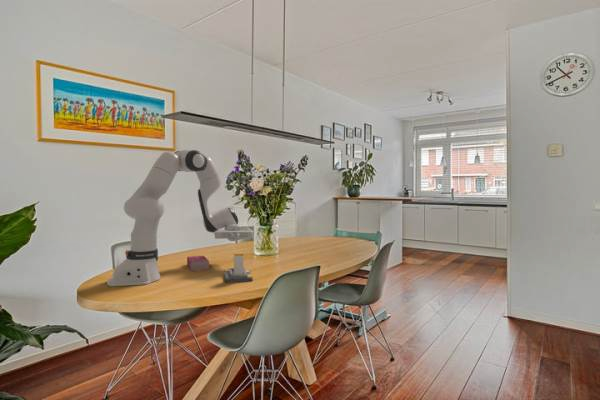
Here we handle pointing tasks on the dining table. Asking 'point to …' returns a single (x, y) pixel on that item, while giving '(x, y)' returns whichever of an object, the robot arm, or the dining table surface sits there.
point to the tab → (238, 263)
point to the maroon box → (197, 263)
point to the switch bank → (241, 278)
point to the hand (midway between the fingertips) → (235, 236)
